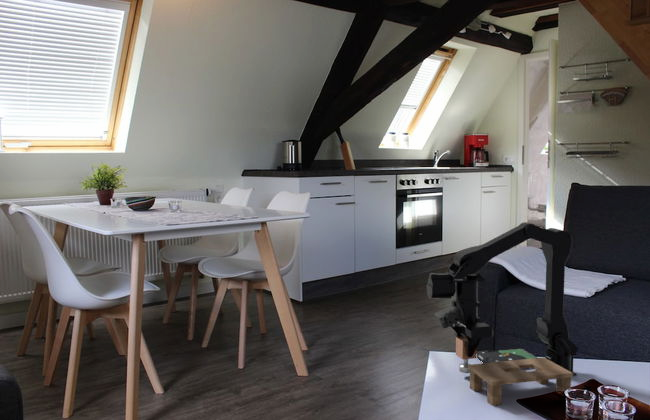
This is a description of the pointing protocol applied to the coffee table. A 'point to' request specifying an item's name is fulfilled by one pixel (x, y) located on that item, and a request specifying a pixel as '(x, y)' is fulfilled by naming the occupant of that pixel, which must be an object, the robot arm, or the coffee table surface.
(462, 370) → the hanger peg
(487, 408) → the coffee table surface
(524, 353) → the disk drive
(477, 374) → the wooden slotted stool
